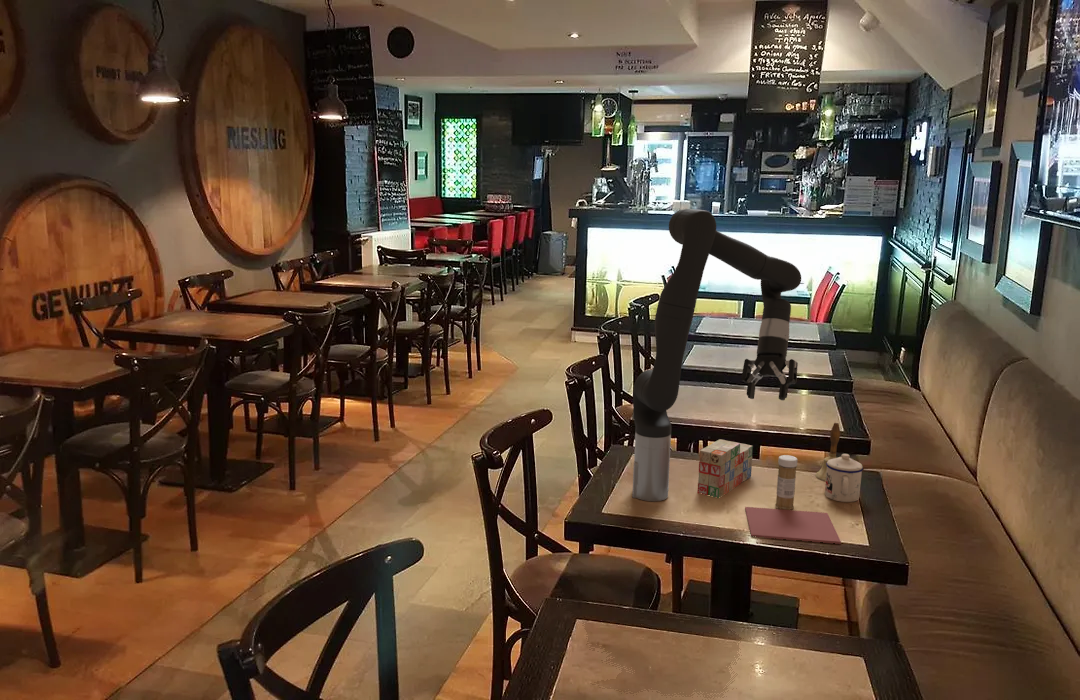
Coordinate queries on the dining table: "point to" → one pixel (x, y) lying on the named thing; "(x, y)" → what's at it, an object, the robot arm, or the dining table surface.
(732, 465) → the stack of blocks
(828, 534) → the mat
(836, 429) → the hand bell
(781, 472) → the sprinkles bottle
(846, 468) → the teacup with lid
